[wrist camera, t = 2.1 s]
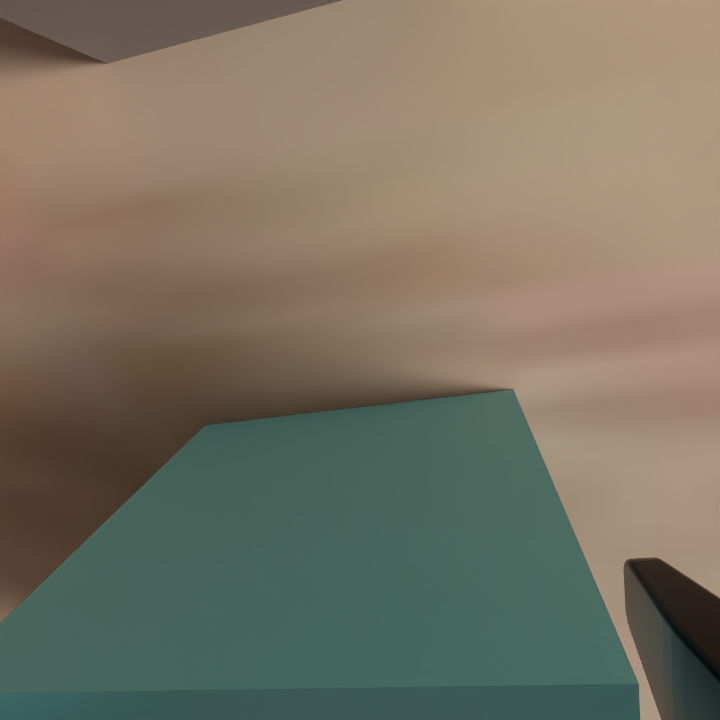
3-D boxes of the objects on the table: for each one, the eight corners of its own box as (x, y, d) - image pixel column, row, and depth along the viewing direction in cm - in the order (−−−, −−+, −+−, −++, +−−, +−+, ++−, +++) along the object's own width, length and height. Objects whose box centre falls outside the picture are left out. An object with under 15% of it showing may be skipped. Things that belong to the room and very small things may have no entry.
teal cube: (512, 387, 8) (639, 684, 3) (540, 651, 9) (658, 1150, 4) (206, 423, 9) (-74, 694, 4) (273, 658, 10) (125, 1074, 5)
